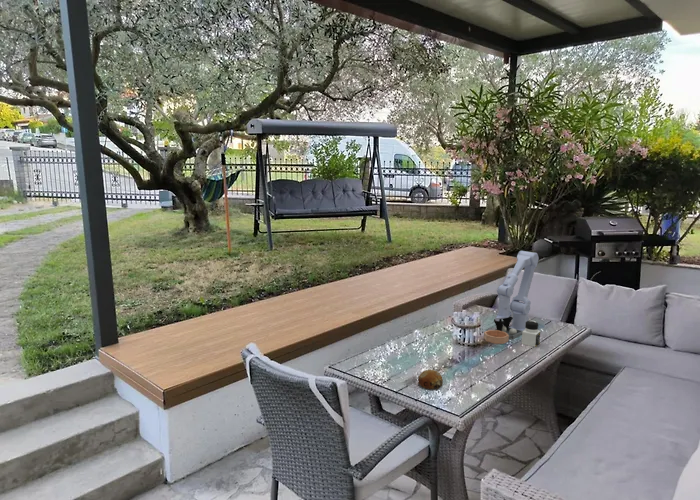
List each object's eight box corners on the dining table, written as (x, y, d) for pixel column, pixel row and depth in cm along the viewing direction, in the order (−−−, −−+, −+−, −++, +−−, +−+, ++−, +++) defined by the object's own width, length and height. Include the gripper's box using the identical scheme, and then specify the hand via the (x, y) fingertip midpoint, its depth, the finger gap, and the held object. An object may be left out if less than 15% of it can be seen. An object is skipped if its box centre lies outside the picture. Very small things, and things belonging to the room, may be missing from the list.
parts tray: (503, 329, 267) (503, 325, 266) (523, 334, 258) (523, 331, 258) (491, 334, 258) (492, 330, 258) (512, 340, 250) (512, 336, 249)
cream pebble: (501, 331, 263) (501, 324, 262) (507, 332, 260) (508, 325, 259) (497, 332, 260) (497, 325, 260) (504, 334, 257) (504, 327, 257)
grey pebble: (511, 333, 259) (511, 326, 258) (518, 335, 256) (518, 328, 255) (507, 335, 256) (508, 328, 255) (514, 337, 253) (514, 330, 252)
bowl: (491, 335, 258) (491, 328, 257) (511, 340, 249) (512, 333, 249) (480, 340, 250) (480, 333, 249) (500, 345, 241) (500, 339, 241)
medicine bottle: (535, 347, 239) (537, 324, 237) (521, 344, 243) (522, 322, 242) (539, 343, 245) (541, 321, 243) (525, 340, 249) (527, 318, 247)
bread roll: (440, 389, 201) (439, 369, 203) (446, 389, 191) (444, 369, 193) (417, 389, 201) (416, 370, 203) (421, 389, 191) (420, 369, 193)
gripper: (503, 303, 266) (502, 326, 268) (490, 308, 256) (489, 332, 258) (515, 305, 261) (514, 329, 263) (502, 310, 251) (501, 335, 253)
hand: (502, 331), depth 260 cm, fingers open, 7 cm apart
